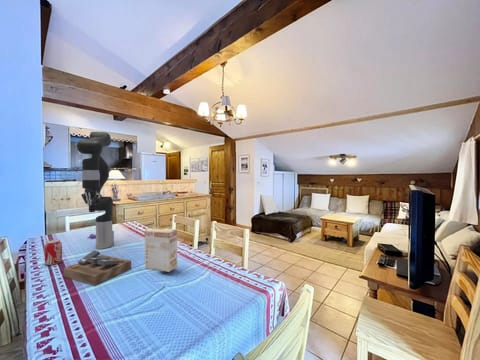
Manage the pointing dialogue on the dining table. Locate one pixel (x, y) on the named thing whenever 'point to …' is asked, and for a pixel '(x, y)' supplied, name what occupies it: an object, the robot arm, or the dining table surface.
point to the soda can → (53, 252)
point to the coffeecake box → (161, 249)
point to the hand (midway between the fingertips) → (92, 212)
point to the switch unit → (96, 271)
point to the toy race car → (92, 236)
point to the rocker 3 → (108, 261)
